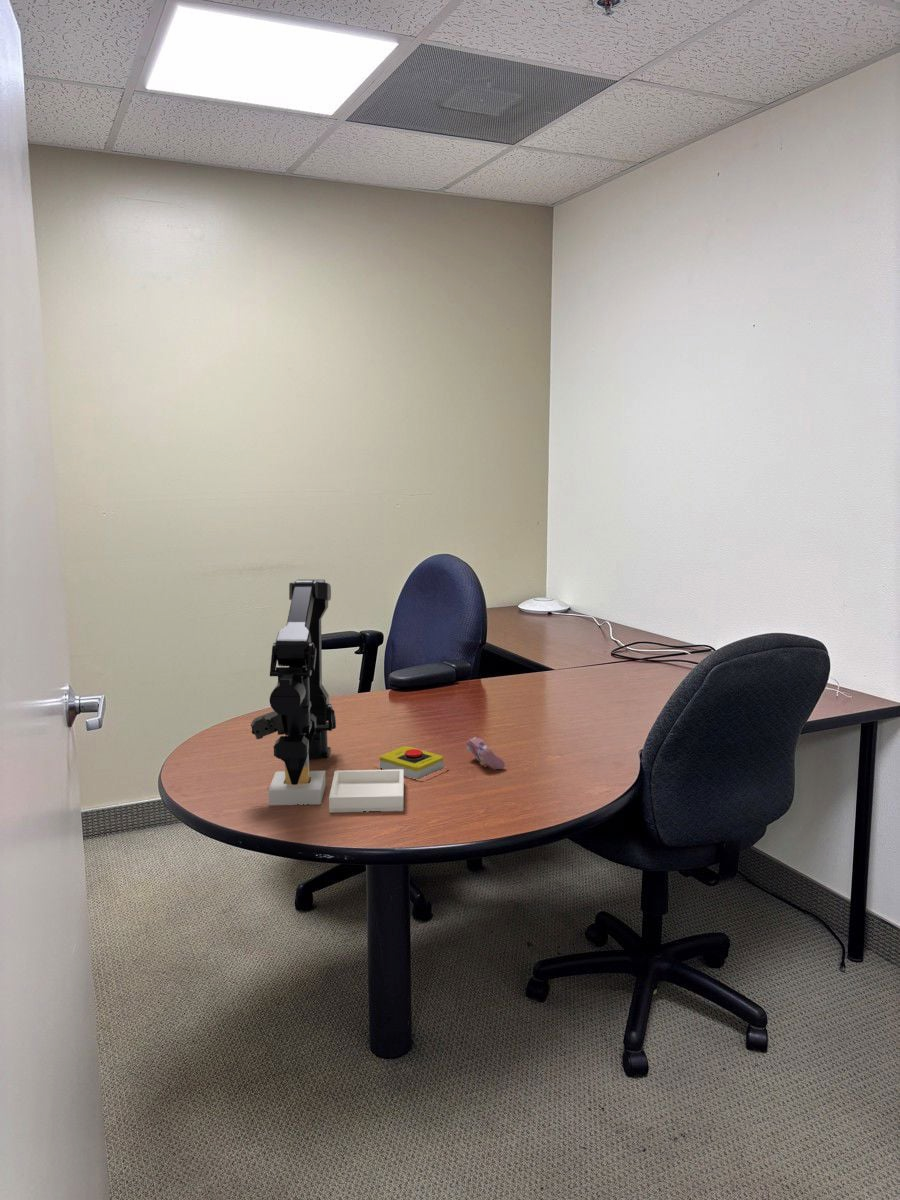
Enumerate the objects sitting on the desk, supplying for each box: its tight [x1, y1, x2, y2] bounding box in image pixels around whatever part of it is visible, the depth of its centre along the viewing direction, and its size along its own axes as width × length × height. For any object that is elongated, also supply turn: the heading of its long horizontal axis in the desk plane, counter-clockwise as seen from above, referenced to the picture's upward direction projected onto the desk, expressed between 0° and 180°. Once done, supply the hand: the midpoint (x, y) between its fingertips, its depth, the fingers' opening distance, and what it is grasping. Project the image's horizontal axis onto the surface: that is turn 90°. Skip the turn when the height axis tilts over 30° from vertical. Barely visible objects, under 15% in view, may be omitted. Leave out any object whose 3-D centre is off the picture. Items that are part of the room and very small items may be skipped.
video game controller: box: [465, 736, 506, 770], centre depth 191 cm, size 10×5×7 cm, turn 21°
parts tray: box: [328, 769, 405, 814], centre depth 174 cm, size 14×14×3 cm
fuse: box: [284, 754, 310, 784], centre depth 174 cm, size 2×4×8 cm, turn 93°
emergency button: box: [379, 745, 445, 779], centre depth 189 cm, size 9×4×15 cm
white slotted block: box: [267, 770, 326, 806], centre depth 175 cm, size 10×10×3 cm
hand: (297, 775), depth 174 cm, fingers open, 9 cm apart
